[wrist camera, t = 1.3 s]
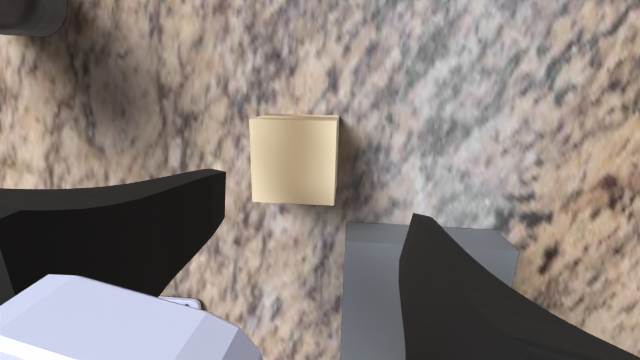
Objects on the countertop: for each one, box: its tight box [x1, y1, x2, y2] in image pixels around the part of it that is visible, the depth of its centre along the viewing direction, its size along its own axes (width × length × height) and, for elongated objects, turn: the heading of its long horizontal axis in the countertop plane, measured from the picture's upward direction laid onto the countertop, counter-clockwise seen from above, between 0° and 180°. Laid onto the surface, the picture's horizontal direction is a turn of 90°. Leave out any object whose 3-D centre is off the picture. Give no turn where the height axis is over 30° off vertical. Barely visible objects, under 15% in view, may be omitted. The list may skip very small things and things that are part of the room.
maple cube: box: [249, 114, 339, 206], centre depth 19 cm, size 4×4×4 cm
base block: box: [340, 222, 519, 360], centre depth 21 cm, size 10×10×3 cm
